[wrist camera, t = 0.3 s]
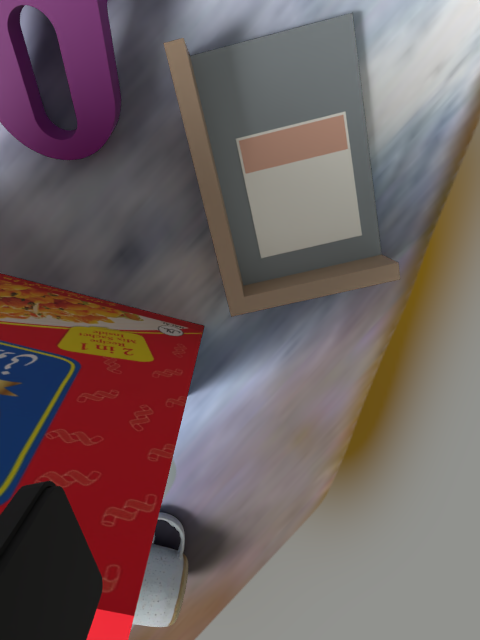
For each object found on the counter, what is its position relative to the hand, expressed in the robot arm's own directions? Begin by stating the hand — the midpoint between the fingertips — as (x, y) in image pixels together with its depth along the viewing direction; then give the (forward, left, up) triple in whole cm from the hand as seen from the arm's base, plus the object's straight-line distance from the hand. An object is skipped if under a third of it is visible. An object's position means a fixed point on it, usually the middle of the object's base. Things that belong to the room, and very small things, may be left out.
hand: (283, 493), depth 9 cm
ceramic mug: (+30, -18, -30) cm, 47 cm away
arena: (-6, +5, -30) cm, 31 cm away
